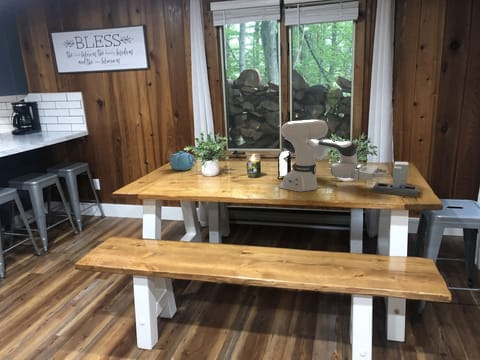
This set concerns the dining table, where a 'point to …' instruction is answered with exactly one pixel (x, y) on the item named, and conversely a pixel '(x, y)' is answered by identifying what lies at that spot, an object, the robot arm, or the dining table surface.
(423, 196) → the dining table surface
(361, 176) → the robot arm
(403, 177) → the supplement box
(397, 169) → the clip
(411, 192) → the compartment tray
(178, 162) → the decorative pot
